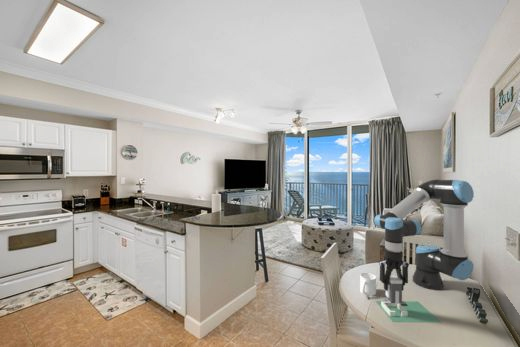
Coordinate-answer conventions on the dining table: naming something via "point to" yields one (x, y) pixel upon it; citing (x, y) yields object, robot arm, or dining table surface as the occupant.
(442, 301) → the dining table surface
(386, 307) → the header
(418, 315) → the board
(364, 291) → the mug
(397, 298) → the plug
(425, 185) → the robot arm
